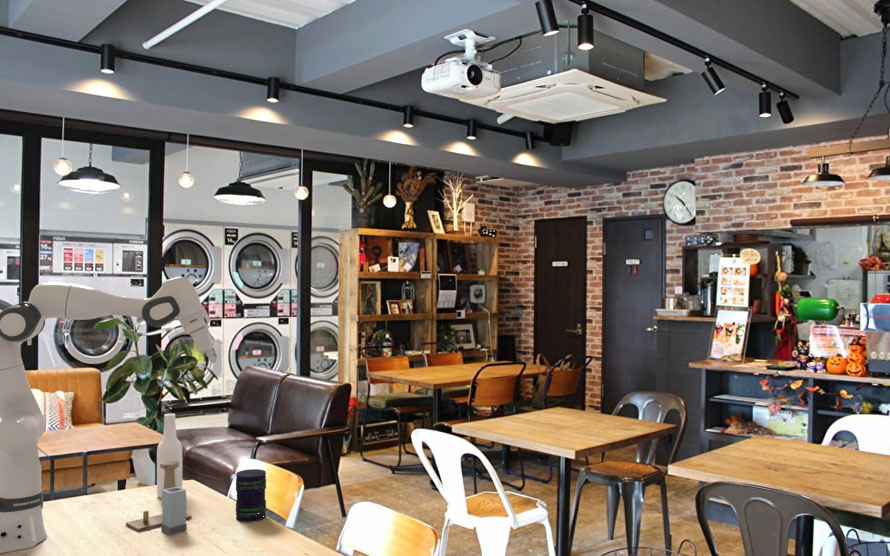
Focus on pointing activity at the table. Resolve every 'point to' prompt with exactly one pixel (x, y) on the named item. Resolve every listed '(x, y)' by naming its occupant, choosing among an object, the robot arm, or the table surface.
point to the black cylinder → (250, 495)
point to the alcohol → (169, 453)
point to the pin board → (148, 522)
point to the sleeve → (173, 510)
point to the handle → (169, 473)
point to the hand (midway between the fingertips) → (214, 360)
